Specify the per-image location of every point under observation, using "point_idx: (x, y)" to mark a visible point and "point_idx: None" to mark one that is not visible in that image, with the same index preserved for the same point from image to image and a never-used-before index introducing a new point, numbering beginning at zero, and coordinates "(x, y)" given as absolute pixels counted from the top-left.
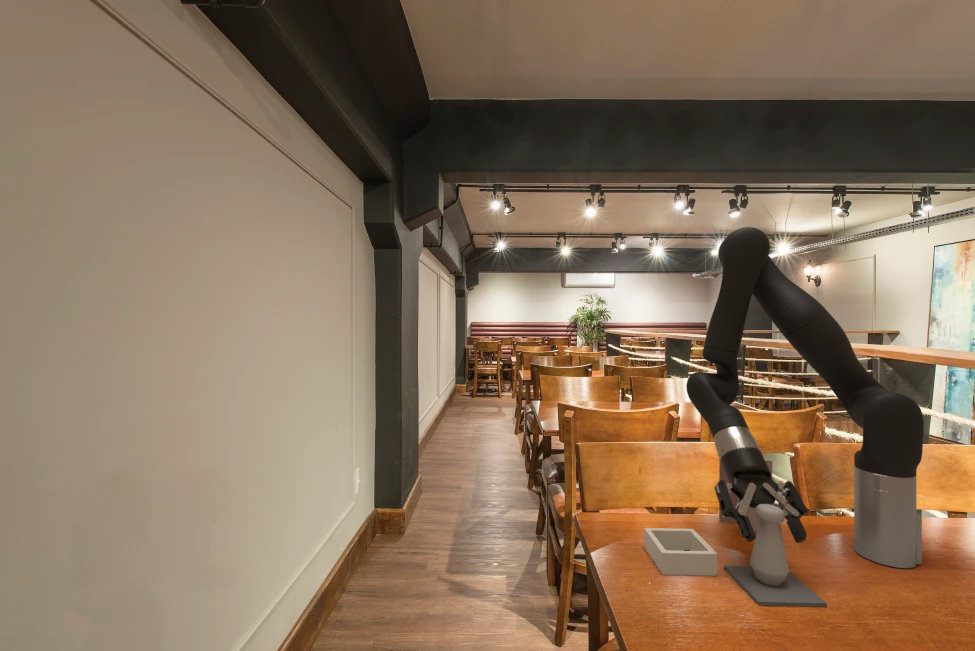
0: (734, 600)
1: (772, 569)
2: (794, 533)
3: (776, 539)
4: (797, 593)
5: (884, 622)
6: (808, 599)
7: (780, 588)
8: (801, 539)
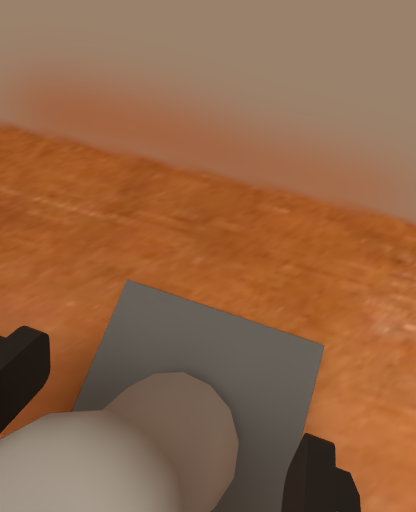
0: (379, 393)
1: (209, 391)
2: (17, 395)
3: (151, 411)
4: (161, 341)
5: (62, 200)
6: (159, 308)
7: None
8: (47, 337)
